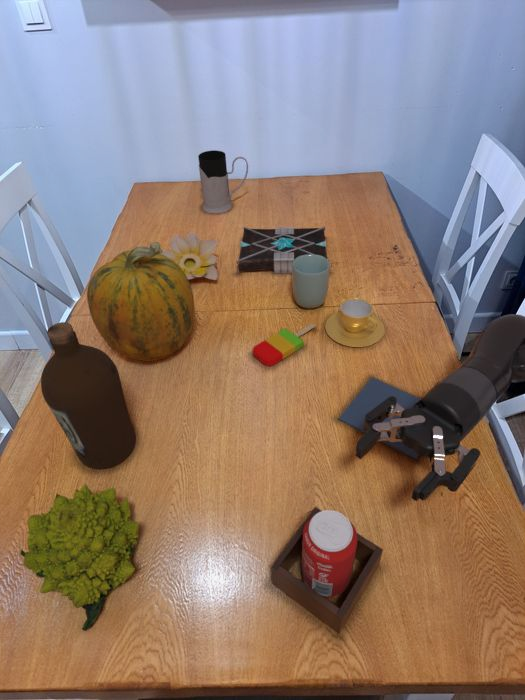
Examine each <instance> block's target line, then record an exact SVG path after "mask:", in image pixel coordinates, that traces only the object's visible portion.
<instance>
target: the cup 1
mask: <svg viewBox="0 0 525 700" xmlns="http://www.w3.org/2000/svg"><path fill="white" fill-rule="evenodd" d="M327 259H328V258H327ZM327 259H326V258H325V257H323V256H320V255H315V254H307V255H302V256H299V257H297V258H296V259H295V260H294V261H293V265H292V273H291V286H292V287H291V288H292V294H293V299H294V301H295V303H296V304H297V305H298V306H299V307H301V308H303V309H312V310H313V309H317V308H319V307H321V306H322V305H323V304H324V303H325V301H326V299H327V296H328V292H329V287H330V286H329V284H330V271H331V269H330V268H331V265H330V260H329V259H328V260H329V261H328V260H327Z"/></svg>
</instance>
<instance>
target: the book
mask: <svg viewBox="0 0 525 700" xmlns="http://www.w3.org/2000/svg"><path fill="white" fill-rule="evenodd" d="M325 231H326V226H322V227H308V228H307V227H306V228H295V227H294V226H293V227H292V226H290V227H289V226H288V227H287V226H285V227H284V226H281V227H279V226H278V227H275V228H248V227H246V226H243V234H242V239H241V241H240V250H239V254H238V259H237V260H236V264H237V267H238V269H237V270H236V271H237V274H241V273H244V272H247V271H249V272H250V271H251V272H252V271H273V274H292V265H293V261H294V260H295V259H296V258H297V257H299V256H302V255H307V254H315V255H320V256H323V257H325V258H326V259H327V260H328V261H329V262H330V259H329V258H328V255H327V241H326V236H325Z"/></svg>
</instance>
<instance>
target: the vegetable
mask: <svg viewBox="0 0 525 700" xmlns="http://www.w3.org/2000/svg"><path fill="white" fill-rule="evenodd" d="M130 509H131V508H130V502H129V499H128V497H126V498H125V499H124V500H122V501H121V502H119V500H118V499H117V492H116V488H115V487H109V488H107V489H104V490H100V492H97V493H93V492H92V491H91V489H90V487H88V486H87V484H86V483H84V484H83V485H82V487H81V489H80V490H78V489H75V490H74V494H73V497H70V498H68V497H66V496H64V495H62V494H59V493H56V495H55V497H54V499H53V505H52V507H50V508H49V510H48V511H47V513H46V512H45V513H43V512H41V513H40V514H32V515H29V516H28V518H27V521H26V523H27V529H28V531H27V532H26V534H27V535H28V536H27V538H26V545H27V548H28V551H26V552H25V551H24V550H22V549H20V556H21V557H24V558H23V566H24V567H26V569H28V571H30V570H31V571H32V574H34V573H35V576H36V577H38V578H42V579H43V583H42V584H41V588H40V590H39V593H41V594H47V593H51V592H55V591H58V592H60V593H61V597H68V600H69V601H72V604H73V606H74V608H76V609H77V608H82V609H84V610H85V616H86V619H85V621H84V624H83V625H82V627H81V630H82V631H84V632H87V631H88V630H89V629H91V628H92V627H93V625H94V622H95V621H96V619H97V618H98V617H99V615H100V612H101V608H102V607H103V605H104V601H105V599H106V597H107V596H108V594H109V593H110V592H111V591H112V590H115V589H116V588H118V586H119V585H120V584H125V583H126V581H127V580H128V579H129V578H130V577H132V575H133V574H134V572H135V571H136V567H134V565H133V564H132V562H131V561H132V559H131V558H132V557H133V552H134V550H135V547H134V546H135V545H136V544H138V542H137V539H138V538H139V531H140V527H139V521H134V520H133V521H132V519H131V516H132V511H131V510H130Z"/></svg>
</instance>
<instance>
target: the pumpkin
mask: <svg viewBox="0 0 525 700" xmlns="http://www.w3.org/2000/svg"><path fill="white" fill-rule="evenodd" d="M148 245H149V246H143V245H142V246H135V247H134V248H133V249H129V250H125V251H122V252H121V253H119V254H117V255H116V256H114V258H113V259H112V260H111V261H110V262H109V261H108V262H107V263H105V264H103V265H102V266H100V267H98V269H97V270H96V271H95V272H94V273H93V275H92V276H91V278H90V279H89V282H88V286H87V292H86V298H87V299H86V300H87V305H88V309H89V313H90V316H91V319H92V322H93V324H94V325H95V327H96V329H97V331H98V333H99V334H100V336H101V337H102V339H103V340H104V341H105V342H106V343H107V344H108V345H109V346H110V347H111V348H112V349H114V350H115V351H116V352H118V353H119V354H121V355H123V356H125V357H127V358H130V359H132V360H136V361H146V362H147V361H151V362H152V361H157V360H162V359H165V358H168V357H169V356H171V355H172V354H173V353H175V352H177V350H179V349H180V348H181V347H182V346H183V345H184V343H185V342H187V339H188V338H189V337H190V334H191V332H192V330H193V324H194V316H195V298H194V293H193V288H192V285H191V283H190V281H189V280H190V279H188V278H187V277H186V275H185V273H184V272H183V270H182V269H181V268H180V267H179V266H178V265H177V264H176V263H175V262H174V261H173V260H171V259H170V258H168V257H166V256H164V255H162V254H160V253H162V252H163V251H164V250H163V249H162V248H161V244H160V242H159V241H153V242H150V243H149V244H148Z"/></svg>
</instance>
